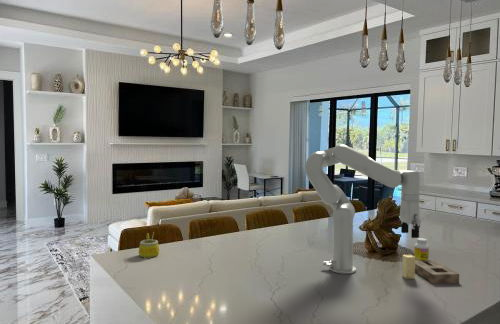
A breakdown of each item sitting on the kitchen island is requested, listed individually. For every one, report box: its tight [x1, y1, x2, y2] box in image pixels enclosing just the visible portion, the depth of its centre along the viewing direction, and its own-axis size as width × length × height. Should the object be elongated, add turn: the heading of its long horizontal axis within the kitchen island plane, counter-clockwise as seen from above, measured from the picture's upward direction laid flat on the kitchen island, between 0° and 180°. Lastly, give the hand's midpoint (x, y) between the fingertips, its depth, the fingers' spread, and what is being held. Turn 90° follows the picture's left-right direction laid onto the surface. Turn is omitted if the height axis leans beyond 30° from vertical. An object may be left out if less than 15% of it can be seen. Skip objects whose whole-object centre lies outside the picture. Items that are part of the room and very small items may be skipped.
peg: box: [401, 254, 416, 280], centre depth 174 cm, size 4×4×10 cm
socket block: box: [415, 259, 460, 285], centre depth 177 cm, size 12×20×4 cm, turn 3°
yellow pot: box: [138, 231, 160, 259], centre depth 207 cm, size 13×11×12 cm
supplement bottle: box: [413, 237, 430, 261], centre depth 194 cm, size 7×7×13 cm
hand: (409, 235), depth 173 cm, fingers open, 9 cm apart
